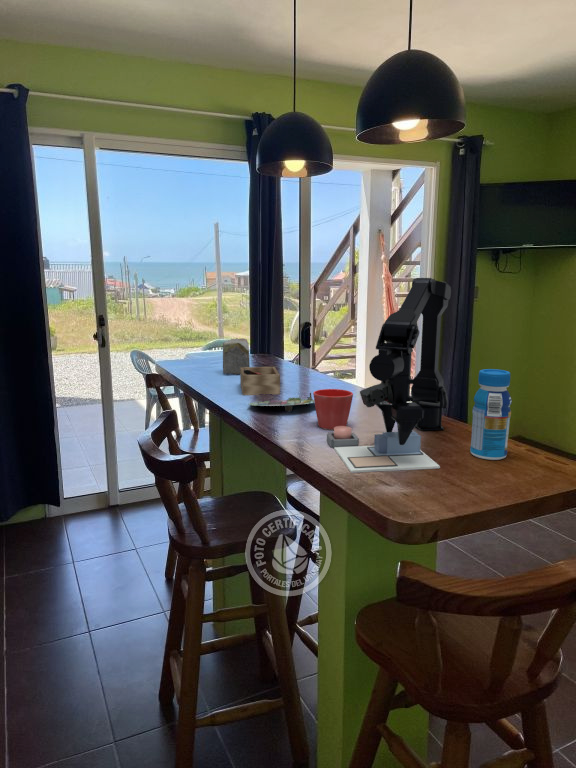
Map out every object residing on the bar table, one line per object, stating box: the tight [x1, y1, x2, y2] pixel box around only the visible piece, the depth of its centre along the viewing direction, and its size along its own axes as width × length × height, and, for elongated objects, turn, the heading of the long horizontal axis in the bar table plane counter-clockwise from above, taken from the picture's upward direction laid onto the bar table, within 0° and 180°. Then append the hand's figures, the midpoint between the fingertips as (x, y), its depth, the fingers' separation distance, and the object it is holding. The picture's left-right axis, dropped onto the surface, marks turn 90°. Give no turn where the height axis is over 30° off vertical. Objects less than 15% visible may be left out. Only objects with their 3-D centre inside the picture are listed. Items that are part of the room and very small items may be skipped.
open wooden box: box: [239, 366, 281, 396], centre depth 198 cm, size 13×17×7 cm
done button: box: [333, 425, 353, 439], centre depth 135 cm, size 4×4×3 cm
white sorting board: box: [333, 445, 441, 474], centre depth 125 cm, size 20×16×1 cm
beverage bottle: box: [469, 368, 513, 461], centre depth 125 cm, size 8×8×20 cm
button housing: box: [326, 431, 360, 449], centre depth 135 cm, size 7×7×2 cm
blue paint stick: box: [373, 430, 422, 454], centre depth 128 cm, size 10×4×4 cm, turn 98°
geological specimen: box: [222, 337, 251, 376], centre depth 228 cm, size 11×6×15 cm, turn 105°
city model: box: [248, 392, 315, 413], centre depth 173 cm, size 25×23×6 cm
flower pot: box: [313, 388, 354, 431], centre depth 150 cm, size 11×11×10 cm
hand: (395, 438), depth 127 cm, fingers open, 9 cm apart
